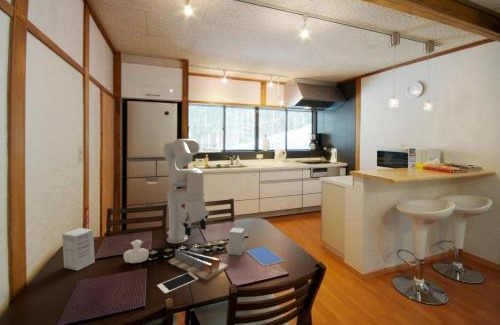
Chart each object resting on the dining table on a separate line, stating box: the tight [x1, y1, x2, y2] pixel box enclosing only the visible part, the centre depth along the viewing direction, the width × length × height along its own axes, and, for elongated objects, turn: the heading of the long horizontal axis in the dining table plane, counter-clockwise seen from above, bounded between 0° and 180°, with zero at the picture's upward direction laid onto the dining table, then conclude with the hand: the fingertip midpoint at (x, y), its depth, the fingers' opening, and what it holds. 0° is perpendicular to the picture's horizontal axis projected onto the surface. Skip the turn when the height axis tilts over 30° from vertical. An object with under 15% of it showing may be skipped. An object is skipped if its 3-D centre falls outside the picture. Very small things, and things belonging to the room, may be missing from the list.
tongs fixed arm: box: [174, 248, 212, 274], centre depth 123 cm, size 25×2×5 cm, turn 56°
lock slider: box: [188, 246, 201, 255], centre depth 133 cm, size 5×3×4 cm, turn 56°
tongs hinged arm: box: [180, 250, 220, 268], centre depth 125 cm, size 22×1×4 cm, turn 66°
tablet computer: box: [246, 246, 285, 267], centre depth 137 cm, size 19×13×1 cm, turn 29°
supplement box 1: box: [61, 227, 96, 272], centre depth 124 cm, size 10×9×17 cm
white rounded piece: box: [123, 239, 150, 264], centre depth 130 cm, size 12×8×11 cm
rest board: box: [168, 250, 229, 281], centre depth 126 cm, size 27×14×1 cm, turn 56°
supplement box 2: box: [228, 227, 245, 256], centre depth 141 cm, size 7×7×13 cm
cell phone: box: [156, 271, 200, 294], centre depth 111 cm, size 8×16×1 cm, turn 135°
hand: (195, 232), depth 121 cm, fingers open, 9 cm apart
